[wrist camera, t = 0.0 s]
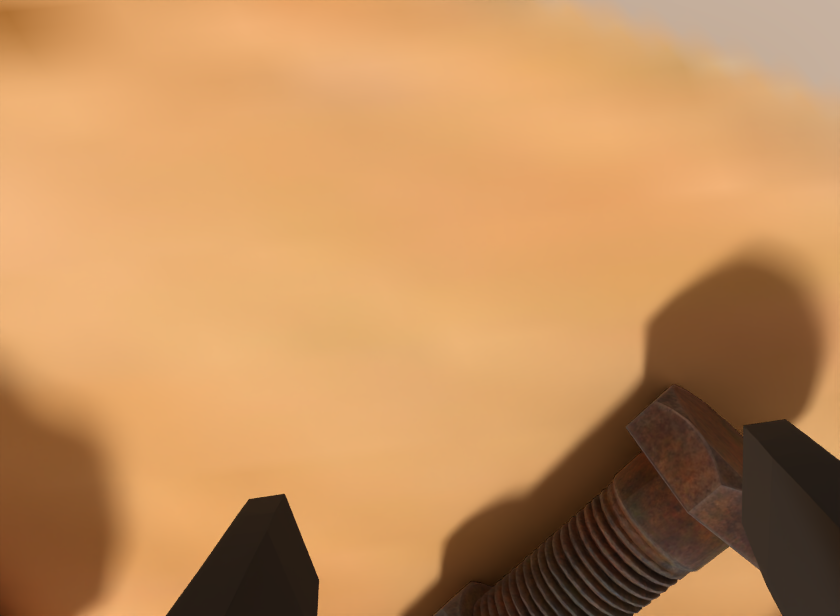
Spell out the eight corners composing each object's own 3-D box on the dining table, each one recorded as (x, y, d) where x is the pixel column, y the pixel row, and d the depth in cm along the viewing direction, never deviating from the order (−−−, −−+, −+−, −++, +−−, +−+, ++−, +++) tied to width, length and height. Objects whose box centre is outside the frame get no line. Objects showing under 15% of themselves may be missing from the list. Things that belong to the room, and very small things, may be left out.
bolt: (397, 633, 28) (683, 374, 24) (482, 748, 27) (807, 496, 22) (311, 709, 23) (658, 396, 18) (411, 857, 22) (818, 558, 17)
